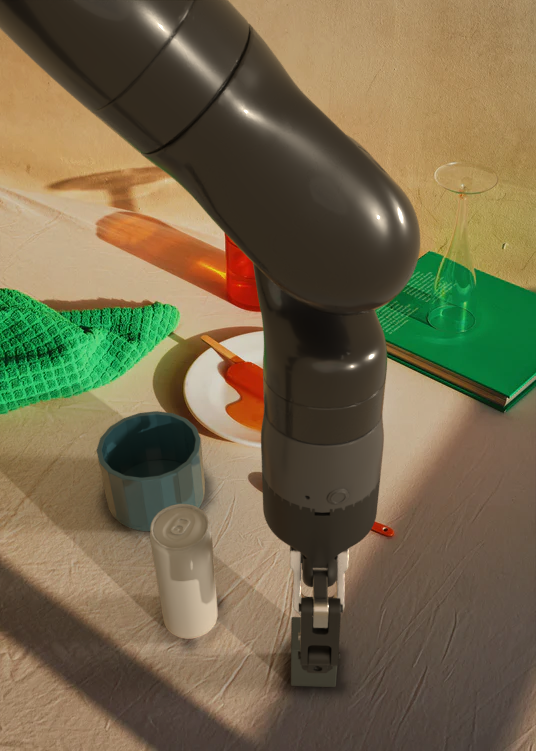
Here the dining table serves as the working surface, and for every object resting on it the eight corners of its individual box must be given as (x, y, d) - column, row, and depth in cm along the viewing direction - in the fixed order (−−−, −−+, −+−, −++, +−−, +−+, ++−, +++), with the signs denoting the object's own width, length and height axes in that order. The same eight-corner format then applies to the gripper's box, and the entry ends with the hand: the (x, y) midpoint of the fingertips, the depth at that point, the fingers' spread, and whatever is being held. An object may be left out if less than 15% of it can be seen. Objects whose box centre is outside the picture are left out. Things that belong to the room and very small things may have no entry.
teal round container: (139, 548, 71) (130, 497, 66) (89, 489, 77) (78, 439, 73) (224, 499, 76) (220, 449, 71) (170, 447, 82) (164, 398, 78)
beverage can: (153, 632, 63) (136, 539, 56) (179, 588, 67) (166, 495, 60) (204, 650, 62) (193, 557, 55) (227, 604, 65) (220, 511, 58)
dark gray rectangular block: (335, 687, 59) (338, 651, 56) (290, 686, 59) (291, 650, 56) (334, 653, 61) (336, 617, 58) (291, 652, 62) (291, 616, 59)
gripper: (266, 390, 52) (270, 541, 62) (255, 550, 41) (262, 704, 51) (372, 391, 52) (359, 542, 62) (392, 552, 40) (372, 706, 50)
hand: (316, 615), depth 56 cm, fingers open, 8 cm apart
